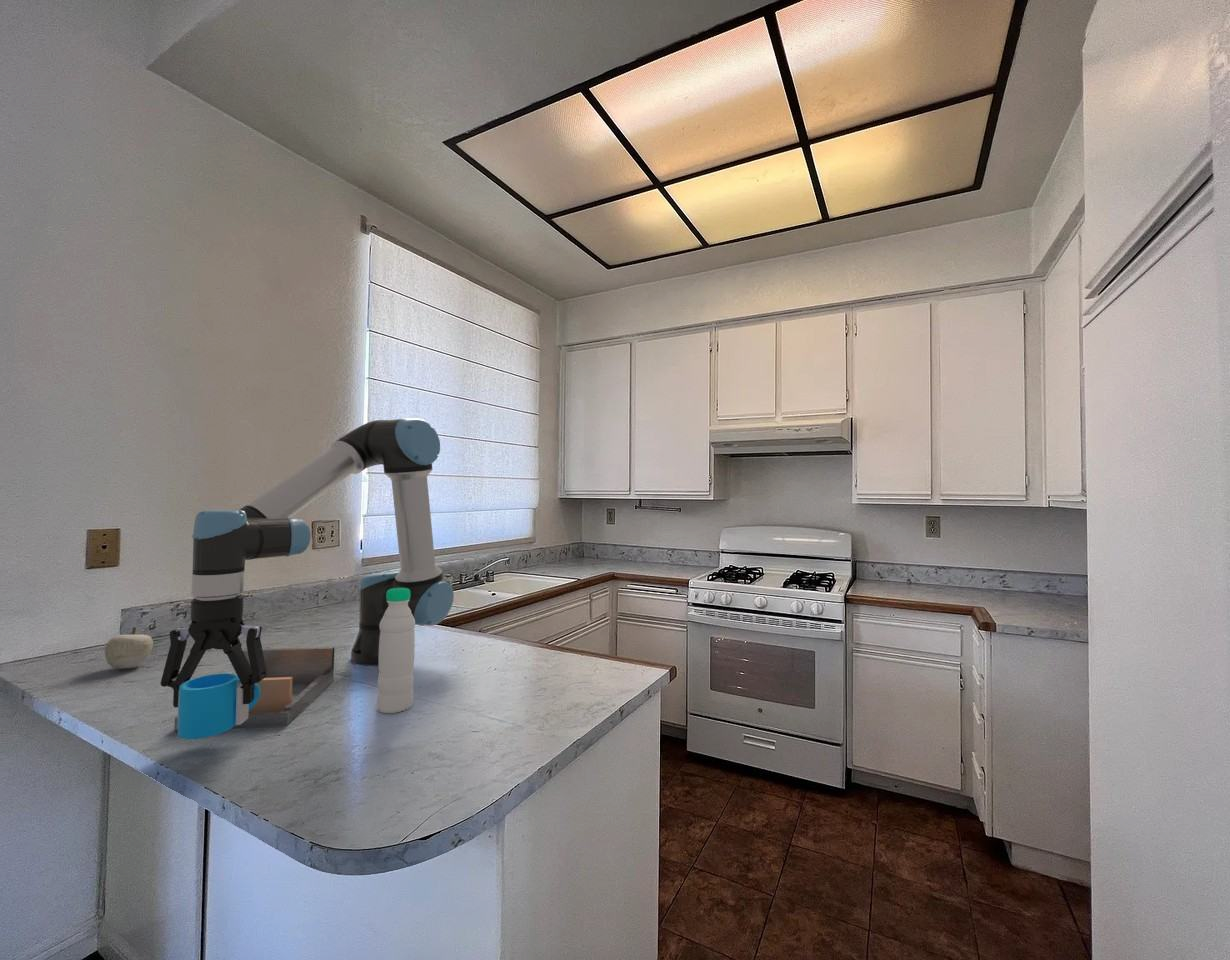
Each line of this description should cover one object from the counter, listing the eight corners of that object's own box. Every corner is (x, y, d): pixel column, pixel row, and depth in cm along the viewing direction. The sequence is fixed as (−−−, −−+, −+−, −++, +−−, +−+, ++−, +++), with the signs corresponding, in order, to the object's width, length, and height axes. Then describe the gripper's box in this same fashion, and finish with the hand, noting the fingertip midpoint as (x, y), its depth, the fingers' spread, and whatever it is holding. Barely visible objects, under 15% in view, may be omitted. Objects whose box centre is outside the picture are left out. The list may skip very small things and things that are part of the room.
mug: (185, 743, 86) (187, 694, 86) (171, 729, 91) (173, 682, 91) (267, 719, 96) (269, 674, 96) (251, 707, 101) (252, 665, 101)
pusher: (297, 706, 109) (298, 672, 109) (288, 715, 105) (289, 679, 105) (210, 710, 106) (211, 675, 106) (197, 719, 102) (198, 682, 102)
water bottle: (377, 717, 105) (381, 593, 106) (375, 704, 111) (379, 587, 112) (414, 711, 108) (418, 590, 109) (411, 699, 115) (414, 585, 115)
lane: (333, 680, 125) (334, 646, 125) (287, 725, 101) (288, 683, 101) (243, 684, 121) (245, 649, 122) (174, 731, 97) (176, 688, 98)
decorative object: (102, 677, 124) (104, 634, 125) (105, 667, 131) (107, 627, 131) (152, 669, 130) (153, 629, 130) (152, 660, 137) (154, 622, 137)
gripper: (291, 591, 99) (287, 711, 99) (165, 592, 95) (160, 717, 95) (272, 599, 92) (268, 729, 91) (135, 601, 88) (129, 736, 88)
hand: (213, 723), depth 93 cm, fingers closed on mug, 8 cm apart
